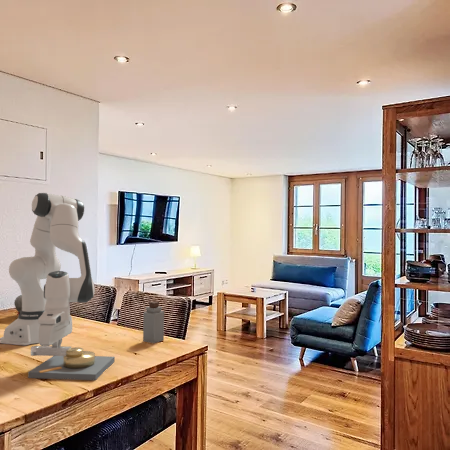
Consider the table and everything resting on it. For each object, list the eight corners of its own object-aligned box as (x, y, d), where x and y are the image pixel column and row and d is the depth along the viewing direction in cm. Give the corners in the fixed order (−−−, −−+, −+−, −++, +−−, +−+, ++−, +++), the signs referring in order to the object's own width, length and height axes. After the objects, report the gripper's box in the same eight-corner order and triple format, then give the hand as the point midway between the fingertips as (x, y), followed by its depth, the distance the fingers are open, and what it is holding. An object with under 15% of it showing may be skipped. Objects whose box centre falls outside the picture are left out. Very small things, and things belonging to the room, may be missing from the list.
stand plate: (27, 378, 142) (27, 371, 142) (55, 359, 162) (55, 354, 162) (95, 380, 141) (95, 374, 141) (114, 361, 161) (114, 355, 161)
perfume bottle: (153, 343, 188) (154, 304, 188) (143, 341, 191) (143, 302, 192) (163, 340, 194) (164, 302, 194) (152, 338, 197) (153, 300, 197)
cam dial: (98, 358, 157) (99, 343, 157) (89, 368, 146) (89, 352, 146) (37, 357, 157) (38, 342, 157) (23, 367, 146) (23, 351, 146)
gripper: (61, 309, 165) (60, 343, 165) (35, 320, 145) (34, 359, 145) (76, 309, 165) (76, 344, 165) (52, 320, 144) (52, 360, 144)
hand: (56, 351), depth 155 cm, fingers closed
